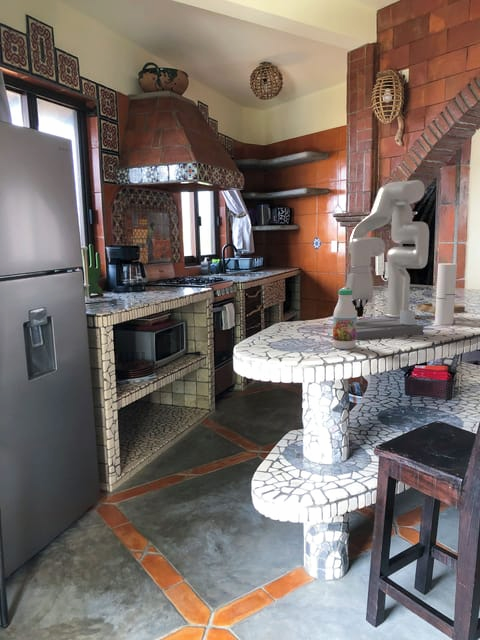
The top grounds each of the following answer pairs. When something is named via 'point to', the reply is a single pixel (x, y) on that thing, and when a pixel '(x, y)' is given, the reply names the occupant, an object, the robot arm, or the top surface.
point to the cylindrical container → (445, 293)
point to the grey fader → (407, 317)
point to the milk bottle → (344, 321)
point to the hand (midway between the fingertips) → (359, 316)
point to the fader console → (385, 328)
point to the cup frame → (432, 309)
